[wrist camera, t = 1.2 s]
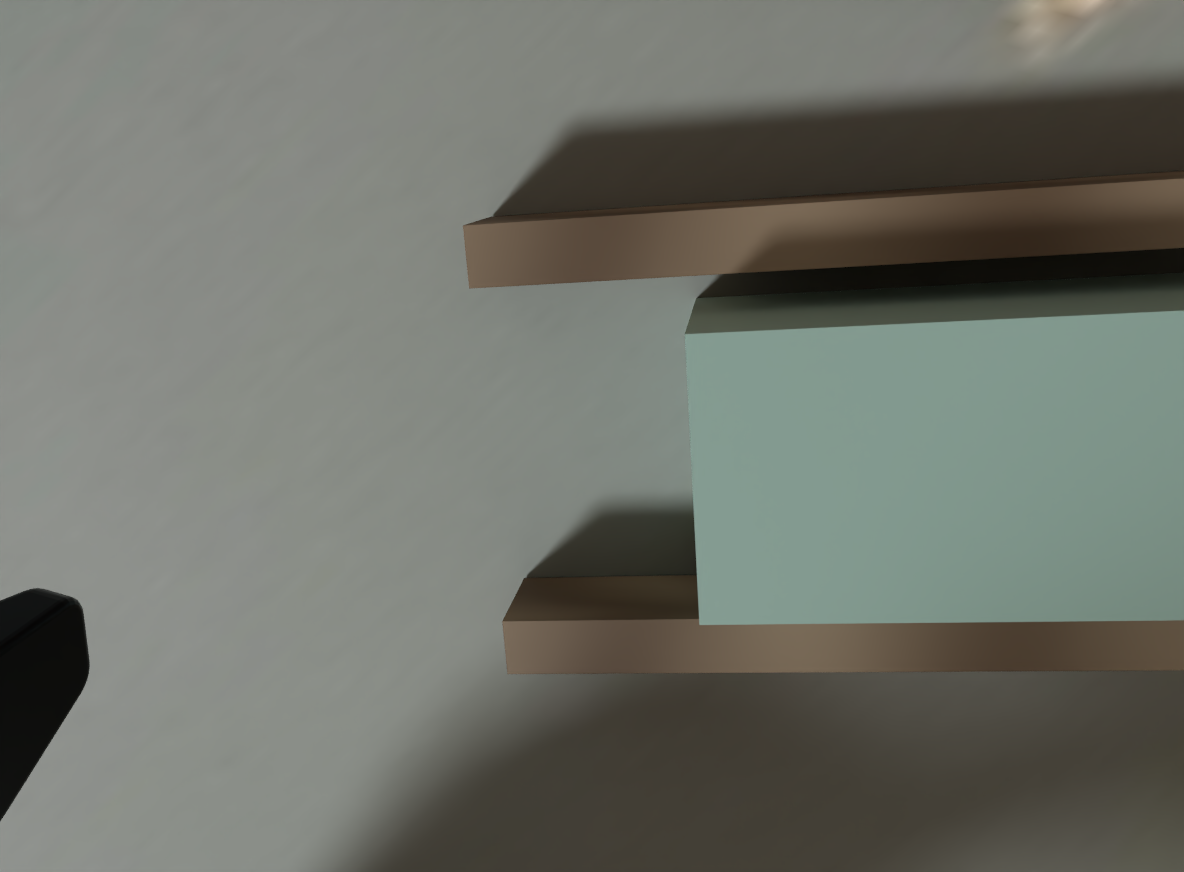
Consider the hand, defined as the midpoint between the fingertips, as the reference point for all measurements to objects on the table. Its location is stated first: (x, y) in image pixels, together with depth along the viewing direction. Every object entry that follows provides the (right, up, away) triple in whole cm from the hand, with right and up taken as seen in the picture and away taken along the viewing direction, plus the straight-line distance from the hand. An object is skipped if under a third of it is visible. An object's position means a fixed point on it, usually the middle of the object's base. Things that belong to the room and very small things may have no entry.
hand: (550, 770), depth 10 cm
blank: (+7, +3, +10) cm, 13 cm away
